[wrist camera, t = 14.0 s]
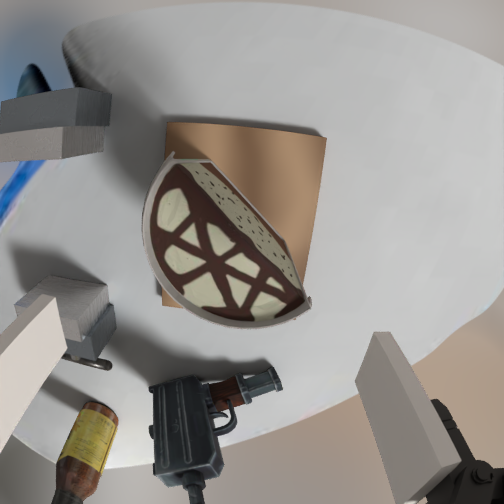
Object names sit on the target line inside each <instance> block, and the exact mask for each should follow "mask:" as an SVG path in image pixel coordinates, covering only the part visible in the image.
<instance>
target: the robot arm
mask: <svg viewBox="0 0 504 504" xmlns="http://www.w3.org/2000/svg"><path fill="white" fill-rule="evenodd" d="M66 350H67V345H66V341H65V337H64V334H63V329H62V325H61V321H60V317H59V312H58V307H57V303H56V298H55V297H53V296H48V295H44V294H42V295H41V296H40V297H38V298H37V299H36V300H35V301H34V302H33V303H32V304H31V305H30V306H29V307H28V308H27V309H26V310H25V311H24V312H23V313H22V314H21V315H20V316H19V317H18V318H17V319H16V320H15V321H14V322H13V323H12V324H11V325H10V326H9V327H8V328H7V329H6V330H5V331H4V332H3V333H2V334H1V335H0V453H1V451H2V449H3V447H4V446H5V444H6V442H7V440H8V439H9V437H10V435H11V434H12V432H13V430H14V429H15V427H16V425H17V424H18V422H19V420H20V419H21V417H22V415H23V414H24V412H25V411H26V409H27V407H28V406H29V404H30V403H31V401H32V400H33V398H34V397H35V395H36V393H37V392H38V390H39V389H40V387H41V386H42V384H43V383H44V381H45V380H46V378H47V377H48V376H49V374H50V373H51V371H52V370H53V368H54V367H55V365H56V364H57V362H58V361H59V360H60V358H61V357H62V355H63V354H64V353H65V351H66ZM355 383H356V386H357V389H358V391H359V394H360V397H361V400H362V402H363V405H364V408H365V411H366V414H367V416H368V419H369V422H370V425H371V428H372V431H373V434H374V437H375V440H376V443H377V446H378V449H379V452H380V455H381V458H382V461H383V464H384V467H385V470H386V473H387V476H388V480H389V483H390V486H391V490H392V493H393V496H394V499H395V503H396V504H417V503H418V502H419V501H420V500H421V499H423V497H425V496H426V498H427V501H428V502H427V503H426V504H504V468H495V469H493V468H492V467H491V466H490V465H489V464H488V463H487V462H485V461H481V460H475V458H474V457H473V455H472V453H471V451H470V449H469V447H468V445H467V443H466V441H465V440H464V437H463V436H462V434H461V432H460V430H459V429H457V425H456V423H455V421H454V420H453V417H452V416H451V414H450V412H449V410H448V409H447V407H446V406H445V405H443V404H442V403H441V402H440V401H439V400H438V399H433V400H430V399H429V397H428V395H427V394H426V392H425V390H424V388H423V387H422V385H421V383H420V381H419V379H418V378H417V376H416V374H415V373H414V371H413V369H412V367H411V366H410V364H409V362H408V361H407V359H406V357H405V356H404V354H403V352H402V351H401V349H400V347H399V346H398V344H397V342H396V341H395V339H394V337H393V336H392V334H391V333H390V332H374V333H373V336H372V339H371V341H370V344H369V347H368V349H367V352H366V355H365V357H364V360H363V362H362V365H361V367H360V370H359V372H358V375H357V377H356V379H355Z"/></svg>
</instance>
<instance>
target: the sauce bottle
mask: <svg viewBox="0 0 504 504" xmlns="http://www.w3.org/2000/svg"><path fill="white" fill-rule="evenodd" d="M117 426H118V417H117V416H116V415H115V413H114V412H112V411H111V410H110V409H109V408H107V407H105V406H104V405H101V404H99V403H94V402H89V403H86V404H85V405H84V406H83V408H82V410H81V411H80V412H79V414H78V416H77V418H76V421H75V423H74V425H73V427H72V429H71V431H70V433H69V436H68V438H67V440H66V442H65V445H64V447H63V449H62V452H61V454H60V456H59V458H58V461H57V463H56V491H55V495H54V497H53V500H52V503H51V504H83V501H84V500H85V499H86V498H87V497H89V496H90V495H92V494H93V493H94V492H95V491H96V488H97V485H98V482H99V479H100V477H101V476H102V473H103V470H104V467H105V464H106V461H107V458H108V455H109V452H110V449H111V446H112V443H113V440H114V437H115V435H116V432H117Z"/></svg>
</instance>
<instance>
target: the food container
mask: <svg viewBox="0 0 504 504" xmlns="http://www.w3.org/2000/svg"><path fill="white" fill-rule="evenodd" d="M174 154H175V152H174V151H173V152H172V153H171V154H170V155H169V156H168V158H167V159H166V160H165V161H164V162H163V164H162V165H161V167H160V169H159V170H158V172H157V174H156V175H155V177H154V179H153V181H152V182H151V185H150V187H149V190H148V192H147V195H146V198H145V202H144V207H143V212H142V236H143V244H144V248H145V252H146V255H147V259H148V262H149V265H150V267H151V269H152V271H153V273H154V275H155V277H156V279H157V280H158V281H159V283H160V284H161V286H162V287H163V289H164V290H165V291H166V292H167V293H168V294H169V295H170V296H171V298H172V299H173V300H174V301H175V302H177V303H178V304H179V305H180V306H182V307H183V308H184V309H185V310H187V311H189V312H190V313H192V314H194V315H195V316H197V317H199V318H201V319H203V320H206V321H208V322H210V323H213V324H217V325H220V326H224V327H229V328H237V329H260V328H267V327H272V326H276V325H279V324H283V323H286V322H288V321H291V320H293V319H295V318H297V317H299V316H301V315H303V314H304V313H306V312H307V311H309V310H311V307H312V302H311V297H310V296H309V297H308V298H307V295H306V293H305V290H304V287H303V285H302V282H301V279H300V277H299V274H298V272H297V269H296V266H295V264H294V261H293V259H292V256H291V253H290V251H289V248H288V246H287V243H286V241H285V240H284V239H283V237H282V236H281V235H280V234H279V233H278V232H277V231H276V230H275V229H274V227H273V226H272V225H271V224H270V223H269V222H268V221H267V220H266V219H265V218H264V216H263V215H262V214H261V213H260V212H259V211H258V210H257V209H256V208H255V207H254V205H253V204H252V203H251V202H250V201H249V200H248V199H247V198H246V197H245V196H244V195H243V193H242V192H241V191H240V190H239V189H238V188H237V187H236V186H235V185H234V184H233V183H232V182H231V181H230V179H229V178H228V177H227V176H226V175H225V174H224V173H223V172H222V171H221V170H220V169H219V168H218V167H217V166H216V165H215V163H214V162H213V161H212V160H211V159H174V158H173V156H174Z"/></svg>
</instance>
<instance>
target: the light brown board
mask: <svg viewBox="0 0 504 504" xmlns="http://www.w3.org/2000/svg"><path fill="white" fill-rule="evenodd" d="M326 140H327V138H325V137H319V136H313V135H306V134H300V133H293V132H286V131H278V130H270V129H262V128H252V127H242V126H231V125H218V124H203V123H182V122H167V133H166V145H165V159H164V161H165V160H166V159H167V158H168V156H169V155H170V154H171V153H172V152H173V151H174V152H175V154H174V156H173V158H174V159H211V160H212V161H213V162H214V163H215V165H216V166H217V167H218V168H219V169H220V170H221V171H222V172H223V173H224V174H225V175H226V176H227V177H228V178H229V179H230V181H231V182H232V183H233V184H234V185H235V186H236V187H237V188H238V189H239V190H240V191H241V192H242V193H243V195H244V196H245V197H246V198H247V199H248V200H249V201H250V202H251V203H252V204H253V205H254V207H255V208H256V209H257V210H258V211H259V212H260V213H261V214H262V215H263V216H264V218H265V219H266V220H267V221H268V222H269V223H270V224H271V225H272V226H273V227H274V229H275V230H276V231H277V232H278V233H279V234H280V235H281V236H282V237H283V239H284V240H285V241H286V243H287V246H288V248H289V251H290V253H291V256H292V259H293V261H294V264H295V266H296V269H297V272H298V274H299V277H300V279H301V282H302V285H303V281H304V276H305V271H306V265H307V260H308V254H309V249H310V243H311V238H312V232H313V226H314V220H315V214H316V208H317V202H318V196H319V189H320V183H321V176H322V169H323V162H324V155H325V148H326ZM162 306H169V307H177V308H183V307H182V306H180V305H179V304H178V303H177V302H175V301H174V300H173V299H172V298H171V296H170V295H169V294H168V293H167V292H166V291H165V290H164V289H163V287H162ZM293 320H296V318H295V319H293Z"/></svg>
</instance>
